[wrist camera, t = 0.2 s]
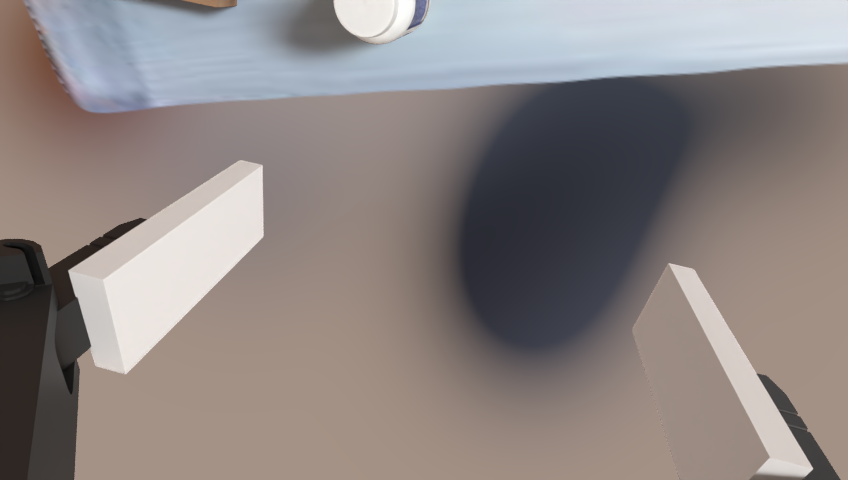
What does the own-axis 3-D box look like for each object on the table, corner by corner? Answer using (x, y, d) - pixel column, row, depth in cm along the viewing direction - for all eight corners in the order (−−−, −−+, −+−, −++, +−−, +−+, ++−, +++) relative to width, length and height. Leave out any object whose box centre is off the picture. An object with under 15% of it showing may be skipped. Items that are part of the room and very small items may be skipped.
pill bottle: (401, -59, 35) (363, -71, 27) (445, 2, 36) (422, 9, 28) (353, -7, 37) (304, -3, 29) (396, 48, 39) (361, 67, 30)
